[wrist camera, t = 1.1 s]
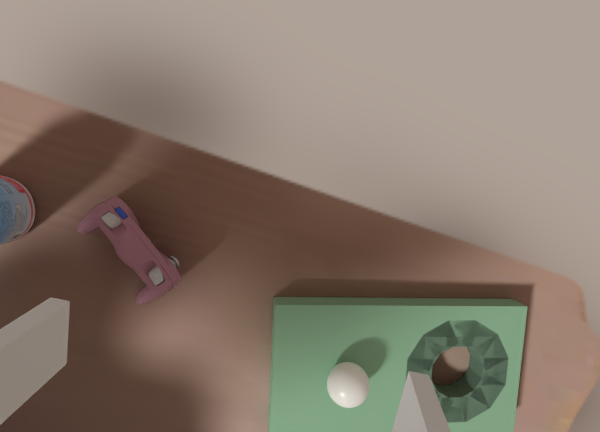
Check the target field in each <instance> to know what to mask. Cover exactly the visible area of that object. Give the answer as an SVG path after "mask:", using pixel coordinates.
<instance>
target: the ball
mask: <svg viewBox="0 0 600 432" xmlns="http://www.w3.org/2000/svg"><path fill="white" fill-rule="evenodd" d="M369 388H370V384H369V379H368V376H367V374H366V372H365V371H364V370H363V369H362V368H361V367H360V366H359V365H357V364H355V363H352V362H343V363H340V364H338V365H336V366H335V367H334V368H333V369H332V370H331V371H330V373H329V375H328V378H327V390H328V393H329V395H330V397H331V399H332V400H333V401H334V402H335V403H336V404H338V405H339V406H342V407H345V408H353V407H357V406H359V405H360V404H362V403H363V402H364V401H365V399H366V398H367V396H368V393H369Z"/></svg>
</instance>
